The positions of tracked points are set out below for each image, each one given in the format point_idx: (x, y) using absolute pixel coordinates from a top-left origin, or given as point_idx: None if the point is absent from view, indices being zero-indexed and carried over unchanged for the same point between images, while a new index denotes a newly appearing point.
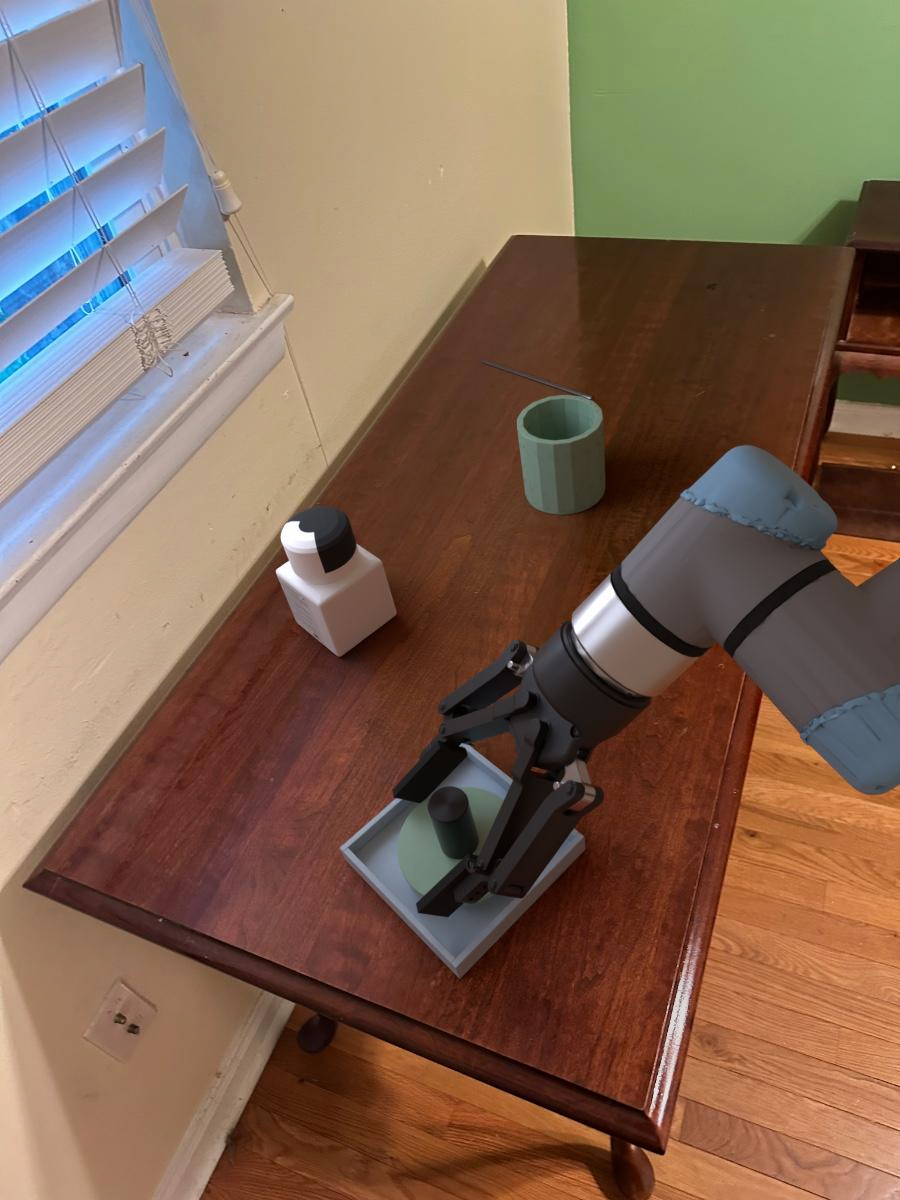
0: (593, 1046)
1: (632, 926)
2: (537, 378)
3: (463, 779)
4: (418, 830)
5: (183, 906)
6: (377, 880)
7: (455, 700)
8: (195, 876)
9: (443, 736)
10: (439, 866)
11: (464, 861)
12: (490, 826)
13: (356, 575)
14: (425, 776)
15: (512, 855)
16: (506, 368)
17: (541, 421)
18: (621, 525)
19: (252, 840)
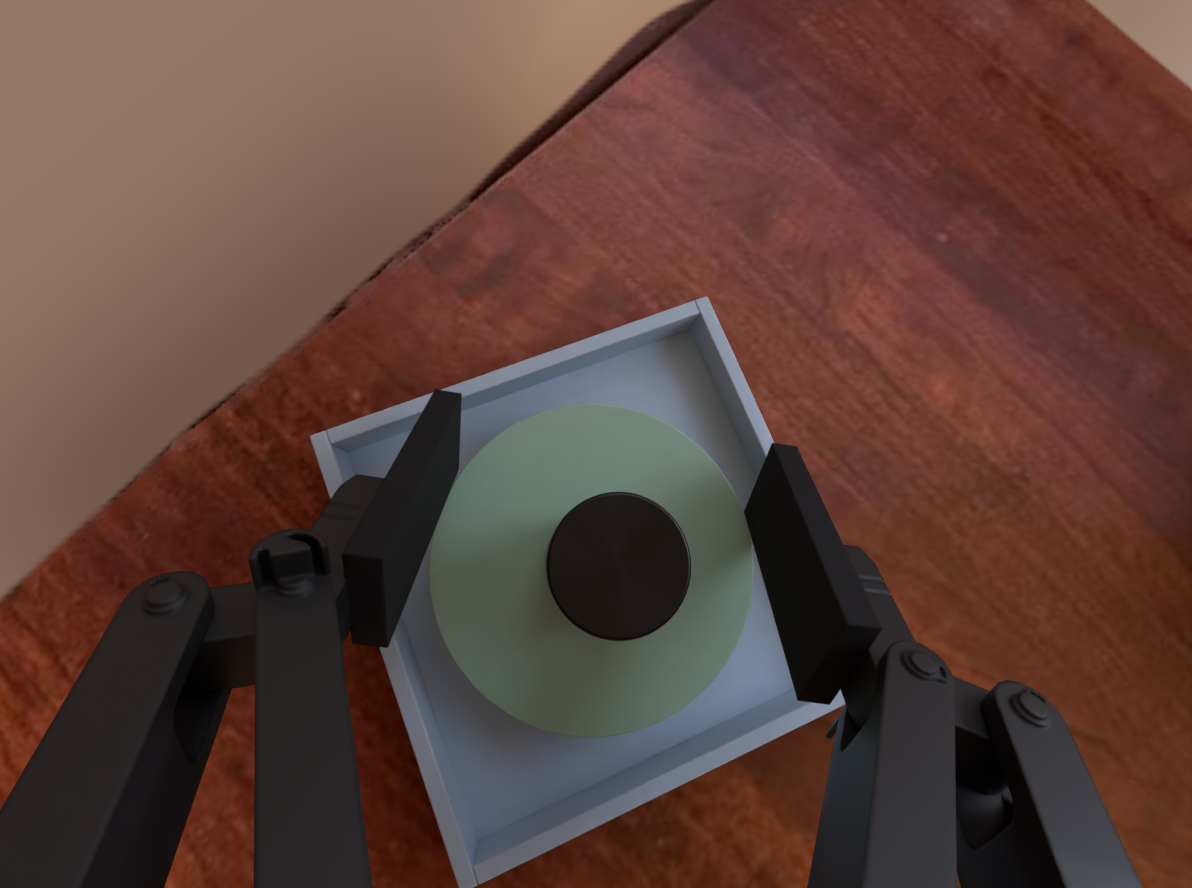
0: (55, 653)
1: (236, 874)
2: None
3: (777, 637)
4: (670, 476)
5: (727, 27)
6: (591, 347)
7: (1050, 794)
8: (779, 57)
9: (889, 656)
10: (556, 490)
11: (379, 536)
12: (600, 654)
13: None
14: (787, 540)
15: (101, 743)
16: None
17: None
18: None
19: (813, 167)
